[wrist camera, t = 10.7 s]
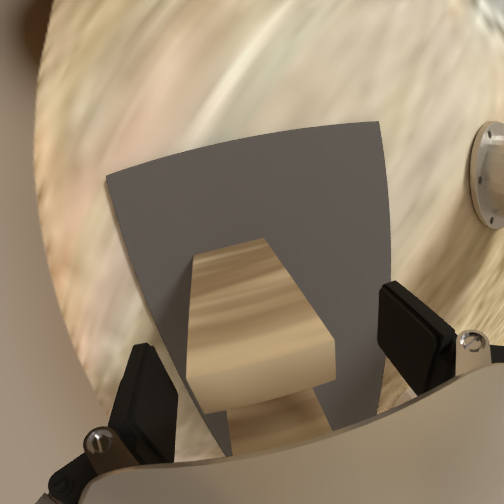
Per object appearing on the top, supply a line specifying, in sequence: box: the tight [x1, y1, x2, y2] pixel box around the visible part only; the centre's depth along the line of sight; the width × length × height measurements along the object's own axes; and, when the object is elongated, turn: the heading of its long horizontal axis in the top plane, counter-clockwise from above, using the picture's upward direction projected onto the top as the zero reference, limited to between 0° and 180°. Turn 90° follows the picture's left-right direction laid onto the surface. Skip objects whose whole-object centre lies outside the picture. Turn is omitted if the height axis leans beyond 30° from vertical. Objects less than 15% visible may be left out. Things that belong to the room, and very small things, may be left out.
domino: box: [226, 388, 333, 456], centre depth 17 cm, size 2×5×12 cm, turn 102°
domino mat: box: [106, 121, 391, 457], centre depth 24 cm, size 20×36×1 cm, turn 12°
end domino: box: [186, 238, 336, 414], centre depth 15 cm, size 2×5×12 cm, turn 101°
